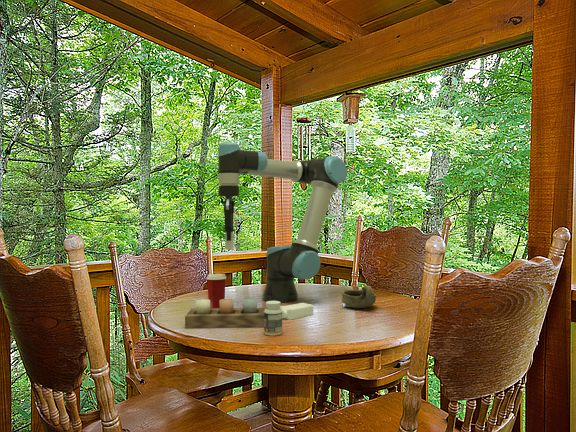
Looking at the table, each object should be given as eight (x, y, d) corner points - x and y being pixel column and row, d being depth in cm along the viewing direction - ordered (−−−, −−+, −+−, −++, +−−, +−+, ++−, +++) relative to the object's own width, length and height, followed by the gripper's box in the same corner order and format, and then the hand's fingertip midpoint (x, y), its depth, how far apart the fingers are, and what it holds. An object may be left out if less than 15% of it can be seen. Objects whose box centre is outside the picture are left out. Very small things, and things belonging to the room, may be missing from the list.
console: (265, 318, 163) (264, 307, 163) (264, 327, 151) (264, 315, 151) (191, 319, 162) (191, 308, 162) (185, 328, 150) (185, 316, 150)
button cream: (211, 311, 159) (211, 299, 159) (209, 314, 154) (209, 301, 154) (197, 311, 159) (197, 299, 159) (194, 314, 154) (194, 301, 154)
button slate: (257, 311, 159) (257, 298, 159) (256, 314, 155) (256, 301, 155) (243, 311, 159) (243, 298, 159) (242, 314, 154) (242, 301, 154)
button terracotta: (234, 311, 159) (234, 298, 159) (233, 314, 154) (232, 301, 154) (220, 311, 159) (220, 298, 159) (218, 314, 154) (218, 301, 154)
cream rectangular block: (275, 318, 164) (275, 307, 164) (301, 312, 173) (301, 301, 173) (288, 321, 160) (288, 309, 160) (313, 315, 169) (313, 304, 168)
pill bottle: (263, 331, 146) (263, 300, 146) (281, 331, 146) (281, 300, 146) (264, 336, 140) (264, 304, 140) (283, 335, 141) (282, 303, 141)
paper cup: (230, 309, 179) (229, 273, 179) (220, 313, 172) (220, 276, 171) (212, 308, 181) (211, 273, 181) (202, 312, 174) (202, 275, 174)
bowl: (367, 303, 189) (366, 279, 189) (386, 312, 172) (386, 285, 172) (335, 305, 186) (335, 280, 186) (352, 314, 169) (352, 287, 169)
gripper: (220, 186, 175) (221, 248, 175) (216, 184, 161) (216, 251, 162) (240, 186, 175) (240, 248, 175) (237, 184, 162) (238, 251, 162)
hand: (229, 249), depth 168 cm, fingers closed
